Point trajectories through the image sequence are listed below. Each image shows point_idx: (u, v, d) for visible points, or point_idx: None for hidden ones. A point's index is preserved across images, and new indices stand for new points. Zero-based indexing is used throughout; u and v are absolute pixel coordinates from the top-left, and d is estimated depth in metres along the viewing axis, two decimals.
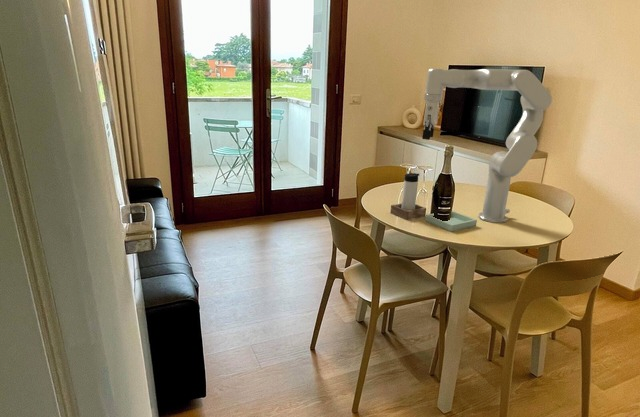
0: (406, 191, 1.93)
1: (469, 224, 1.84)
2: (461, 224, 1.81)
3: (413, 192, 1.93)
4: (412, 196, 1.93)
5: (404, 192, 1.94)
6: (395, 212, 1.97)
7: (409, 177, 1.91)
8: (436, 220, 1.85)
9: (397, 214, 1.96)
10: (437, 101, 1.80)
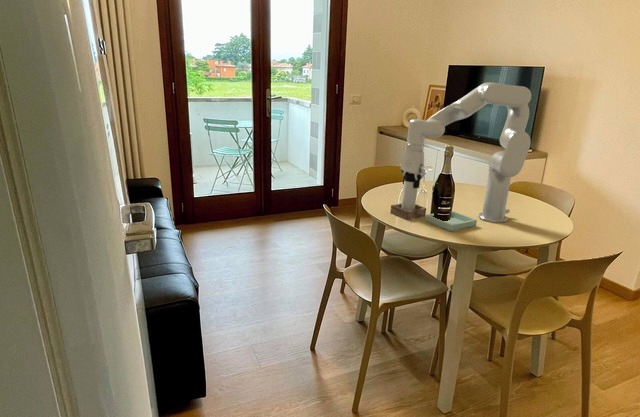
0: (406, 191, 1.93)
1: (469, 224, 1.84)
2: (461, 224, 1.81)
3: (413, 193, 1.93)
4: (412, 196, 1.93)
5: (404, 192, 1.94)
6: (395, 212, 1.97)
7: (409, 177, 1.91)
8: (436, 220, 1.85)
9: (397, 214, 1.96)
10: (406, 148, 1.91)
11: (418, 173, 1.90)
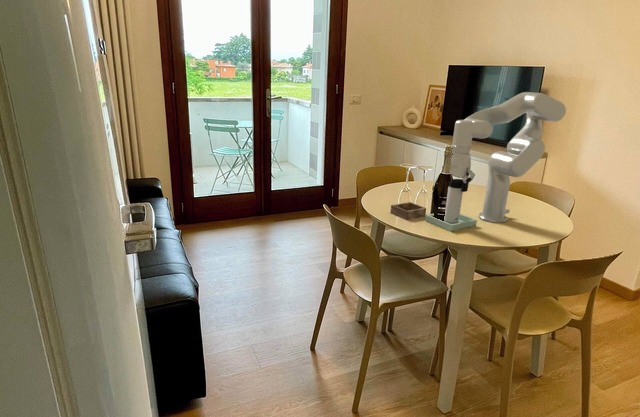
0: (451, 198, 1.83)
1: (469, 224, 1.84)
2: (461, 224, 1.81)
3: (458, 199, 1.83)
4: (457, 203, 1.83)
5: (448, 199, 1.84)
6: (395, 212, 1.97)
7: (455, 183, 1.81)
8: (436, 220, 1.85)
9: (397, 214, 1.96)
10: None
11: (466, 176, 1.78)
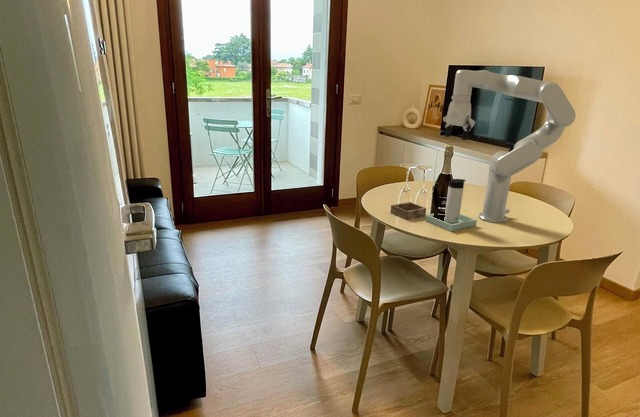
0: (451, 198, 1.83)
1: (469, 224, 1.84)
2: (461, 224, 1.81)
3: (459, 199, 1.83)
4: (457, 203, 1.83)
5: (449, 199, 1.84)
6: (395, 212, 1.97)
7: (455, 183, 1.81)
8: (436, 220, 1.85)
9: (397, 214, 1.96)
10: (452, 101, 1.87)
11: (466, 124, 1.86)
